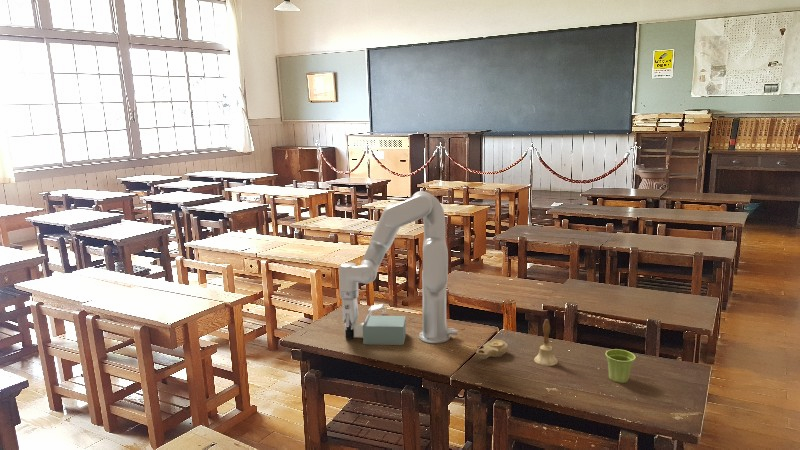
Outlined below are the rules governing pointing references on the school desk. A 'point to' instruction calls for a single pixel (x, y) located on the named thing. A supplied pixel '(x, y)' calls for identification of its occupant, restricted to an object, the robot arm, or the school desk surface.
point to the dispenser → (384, 330)
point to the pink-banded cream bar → (357, 329)
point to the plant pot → (619, 364)
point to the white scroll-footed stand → (376, 308)
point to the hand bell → (546, 349)
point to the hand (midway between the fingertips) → (350, 336)
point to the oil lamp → (492, 349)
